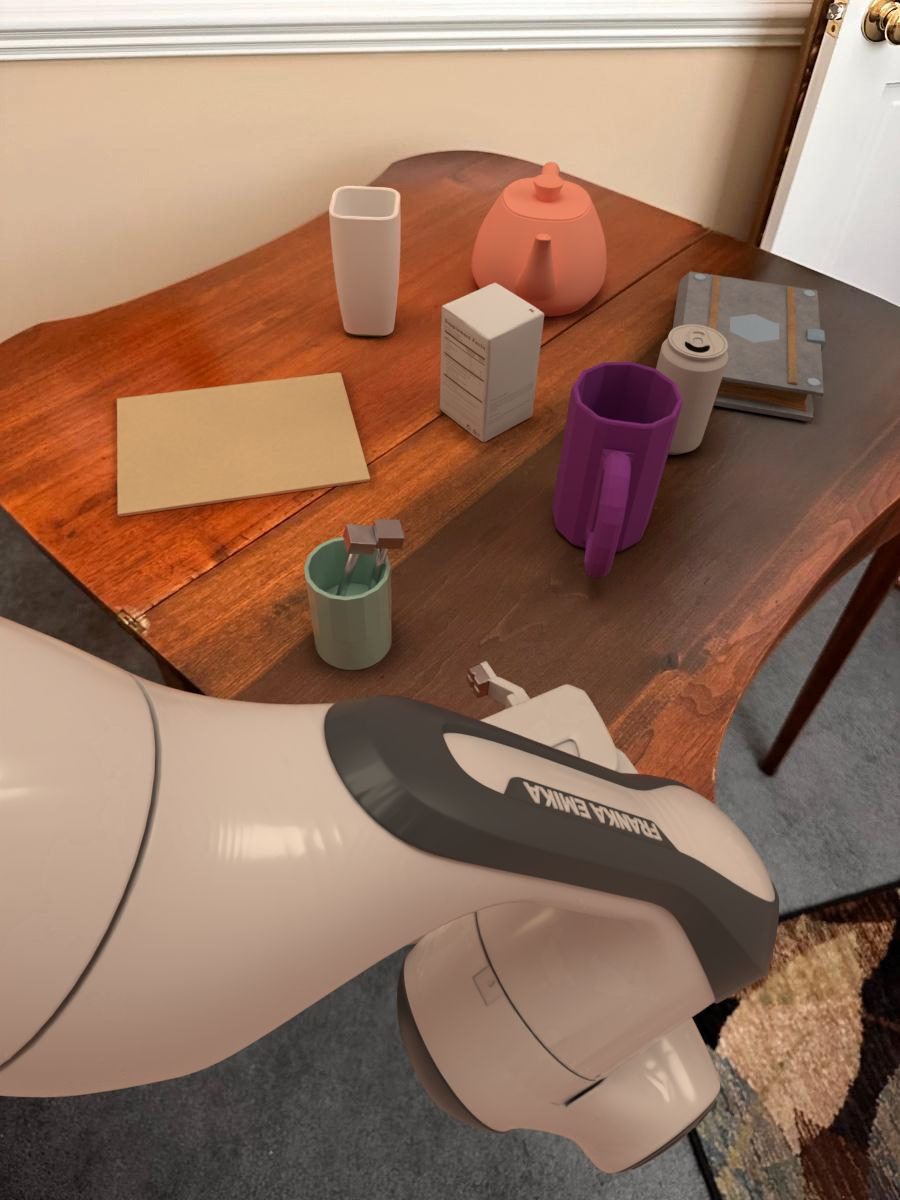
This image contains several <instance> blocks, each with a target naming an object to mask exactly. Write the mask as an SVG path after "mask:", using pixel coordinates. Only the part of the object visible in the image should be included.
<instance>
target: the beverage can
mask: <svg viewBox="0 0 900 1200" xmlns="http://www.w3.org/2000/svg"><path fill="white" fill-rule="evenodd" d="M727 348H728V342H727V340H726V338H725V337H724V336H723V335H722V334H721V333H719V332H718V331H716V330H714V329H712V328H710V327H706V326H702V325H696V324H687V325H681V326H678V327H675V328H674V329H673V328H672V329H671V330H670V331H669V333H668V336H667V338H666V339H665V340H664V341H663V342H662V344H661V347H660V351H659V354H658V359H657V363H656V367H655V369H657V370H658V371H659V372H661V373H662V374H664V375H665V376H666V377H668V378H669V379H671V380H672V381H674V382H675V383H676V385H677V387H678V390H679V392H680V395H681V397H682V400H683V404H682V408H681V411H680V415H679V418H678V422H677V425H676V428H675V432H674V435H673V439H672V442H671V446H670V449H669V453H668V455H672V456H674V455H675V456H677V455H682V454H685V453H690V452H692V451H694V450H696V449H697V448H698V447H699V446H700V445H701V443H702V441H703V438H704V435H705V432H706V429H707V426H708V422H709V419H710V416H711V413H712V411H713V408H714V405H713V404H714V401H715V398H716V395H717V392H718V389H719V386H720V383H721V380H722V377H723V373H724V370H725V367H726V364H727V361H728V353H727Z"/></svg>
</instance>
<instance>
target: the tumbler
mask: <svg viewBox="0 0 900 1200" xmlns="http://www.w3.org/2000/svg"><path fill="white" fill-rule="evenodd" d="M378 550H379V549H376V548H375V551H374V554H373V555H359V558H358V560H357V563H356V566H355V569H354V572H353V575H352V577H351V580H350V583H349V586H348V589H347V592H346V595H345V596H337V595H336V593H337V590H338V587H339V584H340V581H341V579H342V576H343V573H344V570H345V567H346V564H347V561H348V558H349V555H350V554H347V551H346V546H345V542H344V538H343V536H341V537H334V538H330V539H328V540H326V541H324V542H322V543H320V544H318V545H317V546H316V547H315V548H314V549H312V550H311V552H310V553H309V554H308V555H307V557H306V560H305V563H304V566H303V573H304V580H305V588H306V593H307V594H306V596H307V600H308V601H307V602H308V608H309V609H308V610H309V615H310V620H311V628H312V634H313V642H314V648H315V650H316V652H317V654H318V655H319V658H321V659H322V660H323V661H324V662H325V663H326V664H328V665H330V666H331V667H334V668H337V669H340V670H345V671H358V670H364V669H367V668H370V667H372V666H374V665H376V664H377V663H379V662H380V661H382V660H383V659H384V658H385V657H386V656H387V654H388V652H389V651H390V649H391V646H392V642H393V624H392V623H393V622H392V619H393V618H392V611H393V599H392V597H393V596H392V567H391V562H390V558H389V556H388V554H387V556H386V559H385V563H384V566H383V570H382V573H381V577H380V580H379V583H378V584H377V585H376V586H375V587H374V588H373V589H371V590H369V591H367V590H368V586H369V583H370V579H371V575H372V572H373V568H374V565H375V561H376V557H377V554H378Z"/></svg>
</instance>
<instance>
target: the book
mask: <svg viewBox="0 0 900 1200" xmlns="http://www.w3.org/2000/svg"><path fill="white" fill-rule="evenodd" d="M819 306H820V305H819V292H818V290H816V289H811V288H804V287H803V288H802V287H796V286H791V285H790V286H789V285H783V284H776V283H770V282H763V281H756V280H751V279H743V278H737V277H732V276H731V277H730V276H723V275H718V274H712V273H711V274H709V273H703V272H696V271H692V270H691V271H688V272H687V273H686V274H685V275H684V276H683V277H682V278H680V280H679V283H678V287H677V293H676V301H675V308H674V315H673V322H672V329H674V328H675V327H678V326H681V325H687V324H696V325H702V326H706V327H710V328H712V329H714V330H716V331H718V332H719V333H721V334H722V335H723V336H724V337H725V338H726V340H727V342H728V348H727V353H728V361H727V364H726V367H725V370H724V373H723V377H722V380H721V383H720V386H719V389H718V392H717V395H716V398H715V401H714V404H713V406H715V407H721V408H728V409H733V410H738V411H739V410H740V411H745V412H751V413H755V414H756V413H757V414H761V415H769V416H775V417H780V418H785V419H786V418H787V419H791V420H792V419H793V420H798V421H802V422H803V421H804V422H809V423H812V421H813V419H814V401H813V396H817V397H823V396H824V393H825V392H824V391H825V389H824V375H823V373H824V372H823V358H822V357H823V355H822V353H823V350H824V349H825V348H824V347H825V346H826V332H825V330H824V329H821V325H820V324H821V323H820V308H819Z"/></svg>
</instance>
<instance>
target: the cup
mask: <svg viewBox="0 0 900 1200" xmlns="http://www.w3.org/2000/svg"><path fill="white" fill-rule="evenodd" d="M401 212H402V211H401V193H400V192H399V191H397V190H396V189H394V188H392V187H385V186H363V185H361V186H360V185H344V186H339V187H337V188H336V189H334V191H333V192H332V194H331V198H330V204H329V208H328V216H329V217H328V218H329V219H328V220H329V230H330V232H329V233H330V243H331V254H332V263H333V272H334V279H335V287H336V288H335V289H336V294H337V299H338V305H339V310H340V315H341V321H342V325H343V329H344V331H345V332H346V333H349V334H350V335H353V336H357V337H358V336H359V337H386V336H387V335H390V334H391V333H393V332H394V330H395V324H396V323H395V321H396V312H397V304H398V296H399V283H400V273H401V272H400V267H401V236H402V235H401V233H402V232H401V231H402V229H401V227H402V224H401V222H402V221H401V220H402V219H401V218H402V217H401Z"/></svg>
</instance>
